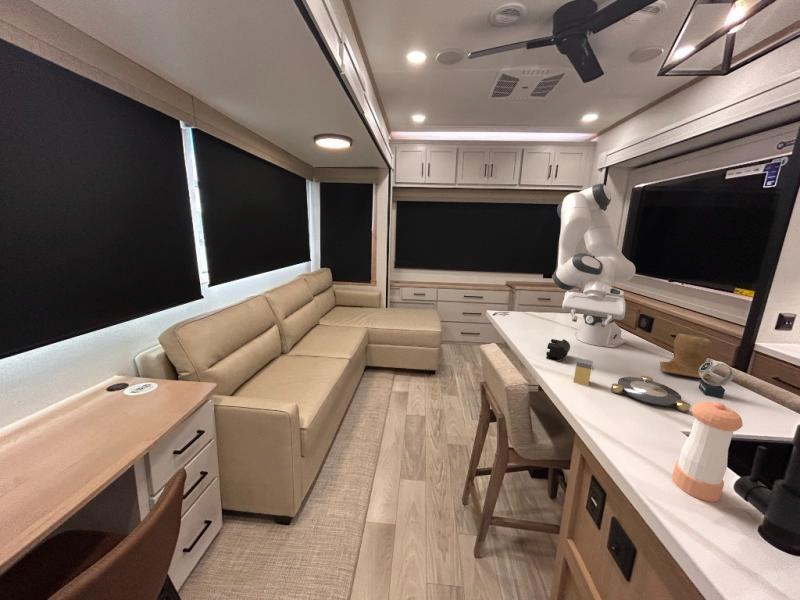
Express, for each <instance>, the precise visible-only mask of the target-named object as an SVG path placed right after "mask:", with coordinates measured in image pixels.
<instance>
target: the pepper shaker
mask: <svg viewBox="0 0 800 600" xmlns="http://www.w3.org/2000/svg"><path fill="white" fill-rule="evenodd" d="M691 413H692V415H693V417H694V421H693V424H692V428H691V431H690V434H689V435H688V437H687V439H686V440H685V442H684V443H683V446H682V448H681V451H680V456H679V459H678V460H677V461H676V462H675V464H674V468H673V472H672V476H671V480H672V482H673V483H674V484H675V485H676V487H678V488H679V489H680V490H682V491H683V492H685V493H686V494H688V495H690V496H692V497H694V498H695V499H699V500H701V501H704V502H705V501H706V502H709V503H710V502H718V501H719V500H720V498H721V495H722V492H723V488H724V485H725V481H724V480H723V479H724V476H725V474H726V473H727V472H726V471H727V468H728V459H729V457H728V456H729V447H730V444H731V441H732V438H733V435H734V432H736V431H738V430H740V429H741V428H742V427H743V425H744V424H743V419H742V417H741V416H740V414H739V413H738V412H736V411H735V410H733V409H731V408H729V406H728V407H727V405H725V404H724V403H721V402H717V401H715V402H713V401H699V402H697V403H695V404H693V405H692V407H691Z"/></svg>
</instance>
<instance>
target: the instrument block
mask: <svg viewBox="0 0 800 600" xmlns="http://www.w3.org/2000/svg"><path fill="white" fill-rule="evenodd" d="M593 363H594V361H593V360H591V359H585V358H581V357H578V358H577V360H576V365H575V371H574V376H573V381H572V382H573V383H575V384H579V385H583V386H586V387H588V386H589V383H590V379H591V373H592V368H593Z"/></svg>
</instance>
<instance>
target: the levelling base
mask: <svg viewBox="0 0 800 600" xmlns="http://www.w3.org/2000/svg"><path fill="white" fill-rule="evenodd" d="M610 391H611V392H613V393H614V394H615V393H616V394H619V395H620V394H621V395H623V394H624V395H626V394H627V395H626V396H629V397H632V398H634V399H636V400H639V401H642V402H644V403H648V404H651V405H654V406H660V407H661V406H663V407H671V408H673V407H674V408H675V409H676V410H678V411H681V412H684V413H689V412H690V409H691V404H690V403H688V402H686V401H684V400H682V396H681V395H680V393H679V392H678V391H676V390H674V389H673V388H671V387H670V386H667V385H665V384H664V383H663V384H662V383H660V382H657V381H654V379H653V378H652V377H651V376H647V375H641V376H640V377H638V376H637V377H636V376H635V377H634V376H624V377H620V378H618V380H617V383H611V388H610Z"/></svg>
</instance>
